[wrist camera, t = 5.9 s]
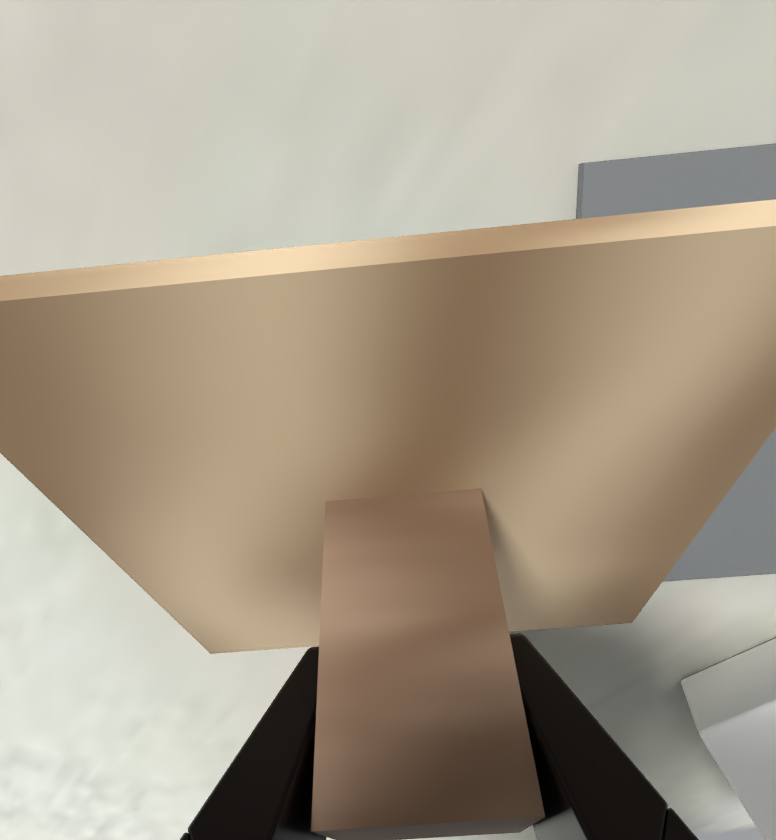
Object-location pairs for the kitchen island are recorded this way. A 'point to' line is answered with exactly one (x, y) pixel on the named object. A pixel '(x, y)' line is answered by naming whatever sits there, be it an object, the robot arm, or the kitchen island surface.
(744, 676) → the milk carton
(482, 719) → the oak lid
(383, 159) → the kitchen island surface
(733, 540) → the rubber mat
